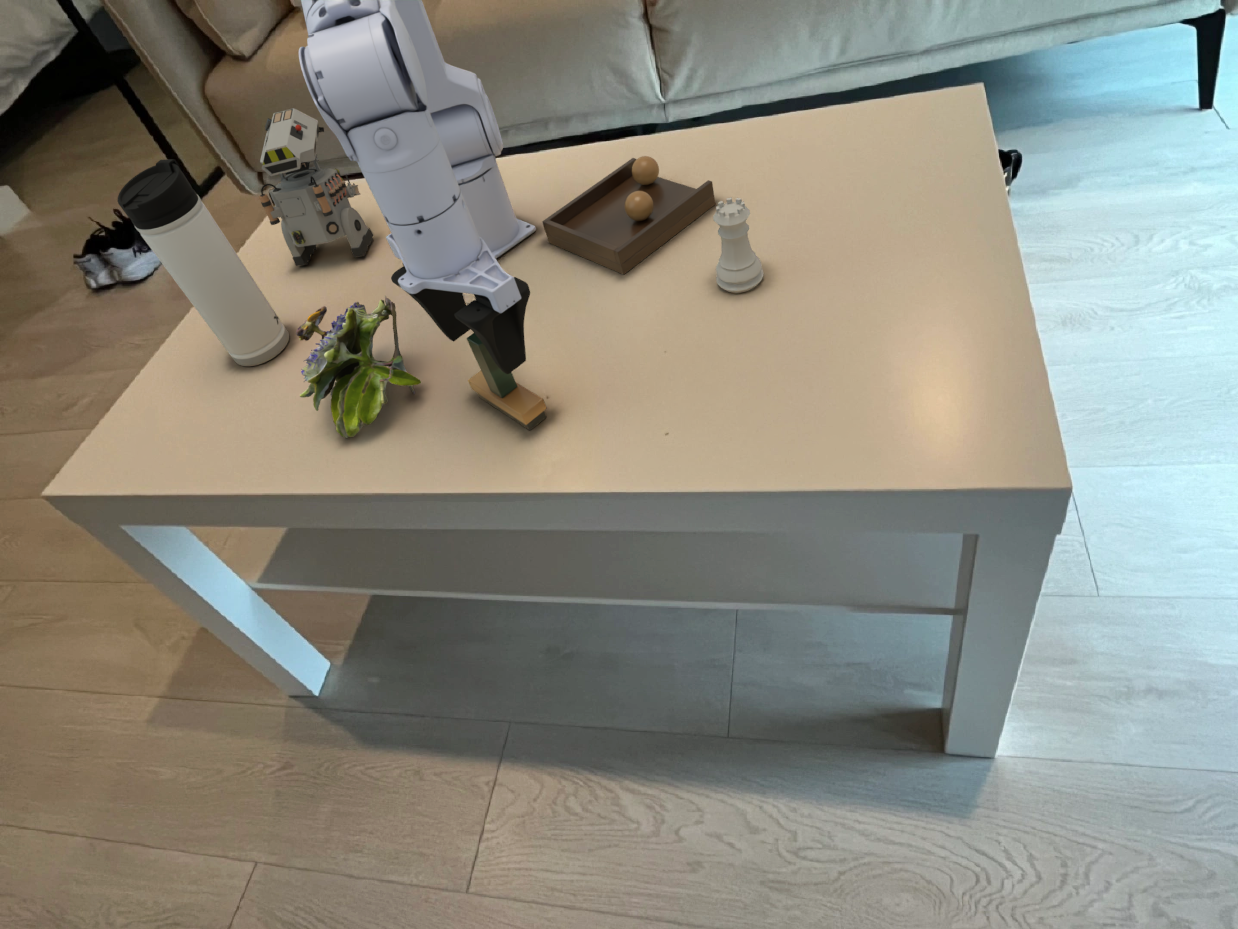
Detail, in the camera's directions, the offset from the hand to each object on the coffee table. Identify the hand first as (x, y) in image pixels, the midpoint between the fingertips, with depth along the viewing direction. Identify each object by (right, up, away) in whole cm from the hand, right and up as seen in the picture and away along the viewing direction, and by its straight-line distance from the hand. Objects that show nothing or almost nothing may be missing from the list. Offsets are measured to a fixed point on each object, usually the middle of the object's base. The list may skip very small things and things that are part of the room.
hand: (486, 349), depth 67 cm
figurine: (-23, +17, +32) cm, 43 cm away
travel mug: (-27, +3, +21) cm, 34 cm away
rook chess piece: (+22, +8, +10) cm, 26 cm away
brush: (+1, -4, +5) cm, 7 cm away
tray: (+12, +16, +21) cm, 29 cm away
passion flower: (-12, -3, +11) cm, 16 cm away
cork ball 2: (+13, +17, +17) cm, 28 cm away
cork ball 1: (+14, +23, +22) cm, 35 cm away
